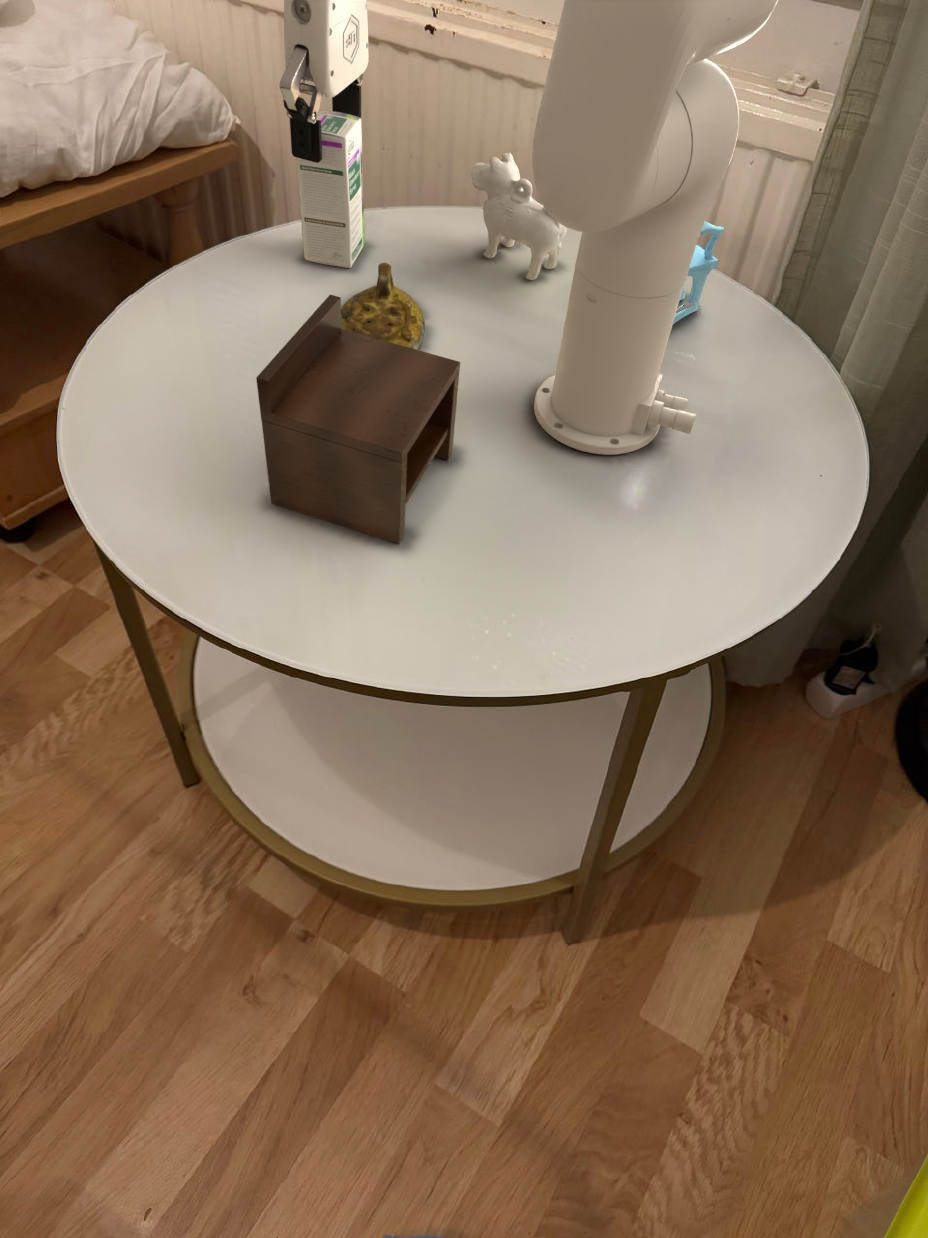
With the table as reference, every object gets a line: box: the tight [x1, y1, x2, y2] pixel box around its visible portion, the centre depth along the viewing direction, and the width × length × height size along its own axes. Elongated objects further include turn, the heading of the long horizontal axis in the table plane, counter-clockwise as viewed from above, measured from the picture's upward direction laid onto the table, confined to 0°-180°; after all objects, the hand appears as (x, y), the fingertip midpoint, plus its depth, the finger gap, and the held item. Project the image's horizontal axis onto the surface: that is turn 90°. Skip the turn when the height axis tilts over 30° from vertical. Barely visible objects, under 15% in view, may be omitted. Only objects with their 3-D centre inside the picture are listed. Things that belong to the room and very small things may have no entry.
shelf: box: [255, 294, 461, 545], centre depth 76 cm, size 12×13×13 cm
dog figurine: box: [471, 152, 568, 281], centre depth 104 cm, size 5×13×11 cm, turn 50°
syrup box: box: [295, 109, 366, 269], centre depth 100 cm, size 6×6×14 cm
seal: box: [341, 262, 426, 350], centre depth 95 cm, size 9×5×15 cm
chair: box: [673, 220, 725, 325], centre depth 98 cm, size 8×8×12 cm
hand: (327, 140), depth 96 cm, fingers open, 9 cm apart
